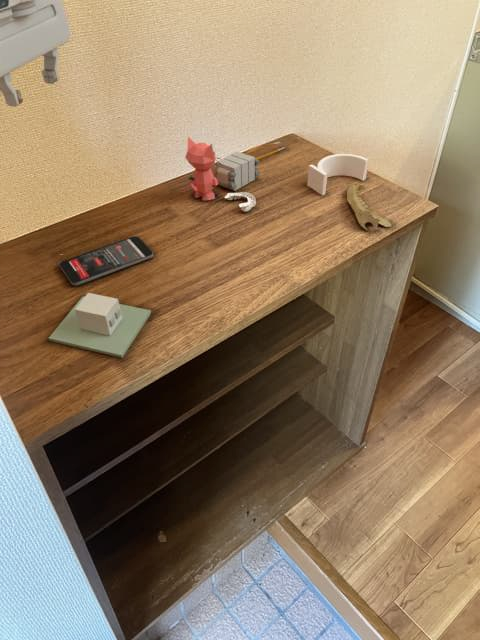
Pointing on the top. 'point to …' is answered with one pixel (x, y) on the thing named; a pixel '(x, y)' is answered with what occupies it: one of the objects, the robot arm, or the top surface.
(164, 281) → the top surface
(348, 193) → the mandible
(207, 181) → the cat figurine
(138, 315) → the desk mat
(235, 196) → the dentures
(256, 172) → the electrical component
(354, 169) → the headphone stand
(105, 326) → the block
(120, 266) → the smartphone
